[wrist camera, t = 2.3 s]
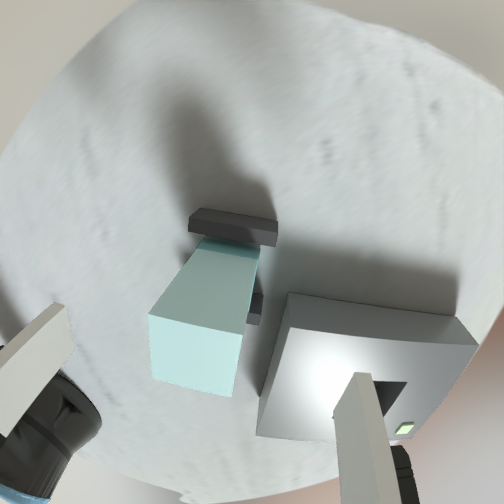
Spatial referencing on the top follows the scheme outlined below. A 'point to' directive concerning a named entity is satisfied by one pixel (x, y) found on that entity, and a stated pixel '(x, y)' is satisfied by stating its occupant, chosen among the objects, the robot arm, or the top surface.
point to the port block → (358, 366)
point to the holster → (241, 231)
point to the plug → (204, 317)
